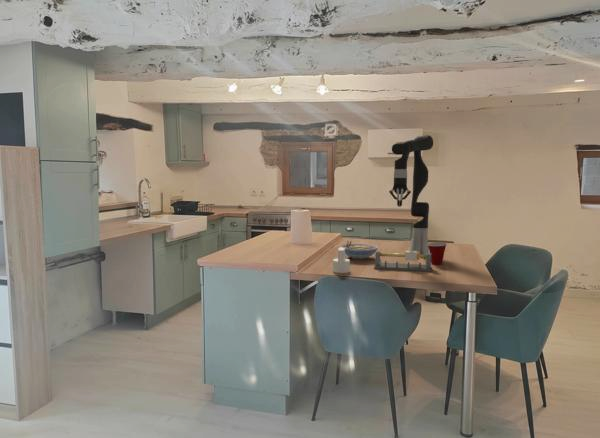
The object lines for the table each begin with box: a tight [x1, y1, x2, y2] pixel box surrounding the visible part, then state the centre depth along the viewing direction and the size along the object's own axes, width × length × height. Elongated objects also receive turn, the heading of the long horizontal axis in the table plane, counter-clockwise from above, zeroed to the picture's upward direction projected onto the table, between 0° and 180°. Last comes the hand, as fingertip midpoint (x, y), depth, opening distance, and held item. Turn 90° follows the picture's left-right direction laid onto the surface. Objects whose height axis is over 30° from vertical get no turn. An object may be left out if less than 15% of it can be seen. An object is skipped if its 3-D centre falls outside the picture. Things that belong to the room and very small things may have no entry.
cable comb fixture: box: [373, 250, 433, 273], centre depth 244 cm, size 30×12×9 cm, turn 77°
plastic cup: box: [427, 241, 448, 266], centre depth 255 cm, size 11×11×12 cm
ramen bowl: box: [339, 241, 379, 260], centre depth 270 cm, size 25×23×8 cm
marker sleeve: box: [404, 237, 418, 262], centre depth 243 cm, size 6×5×12 cm
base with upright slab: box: [332, 246, 351, 274], centre depth 237 cm, size 9×9×12 cm
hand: (399, 206), depth 262 cm, fingers closed
